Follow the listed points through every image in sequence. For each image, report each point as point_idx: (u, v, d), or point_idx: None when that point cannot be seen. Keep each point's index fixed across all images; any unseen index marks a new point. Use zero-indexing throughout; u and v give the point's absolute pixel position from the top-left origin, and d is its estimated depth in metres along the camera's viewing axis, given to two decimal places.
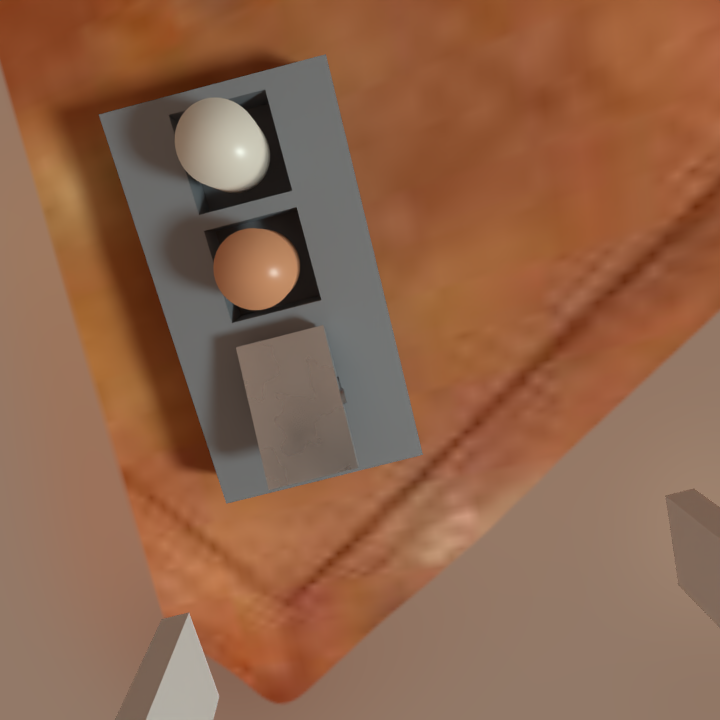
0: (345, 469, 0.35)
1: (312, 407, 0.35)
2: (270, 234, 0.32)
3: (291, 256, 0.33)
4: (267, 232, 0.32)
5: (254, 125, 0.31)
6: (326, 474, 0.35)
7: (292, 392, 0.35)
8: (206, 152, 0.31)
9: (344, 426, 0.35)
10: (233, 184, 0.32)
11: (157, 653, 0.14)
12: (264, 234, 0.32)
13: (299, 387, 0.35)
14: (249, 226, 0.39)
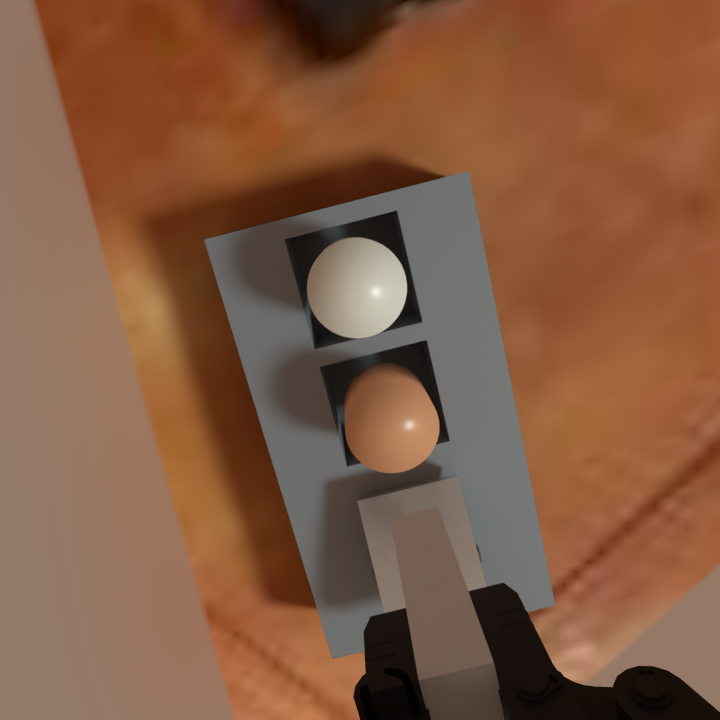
0: None
1: None
2: (413, 389, 0.28)
3: (436, 413, 0.28)
4: (409, 387, 0.28)
5: (401, 268, 0.26)
6: None
7: None
8: (343, 299, 0.26)
9: None
10: (372, 334, 0.27)
11: (405, 538, 0.16)
12: (405, 390, 0.28)
13: None
14: None
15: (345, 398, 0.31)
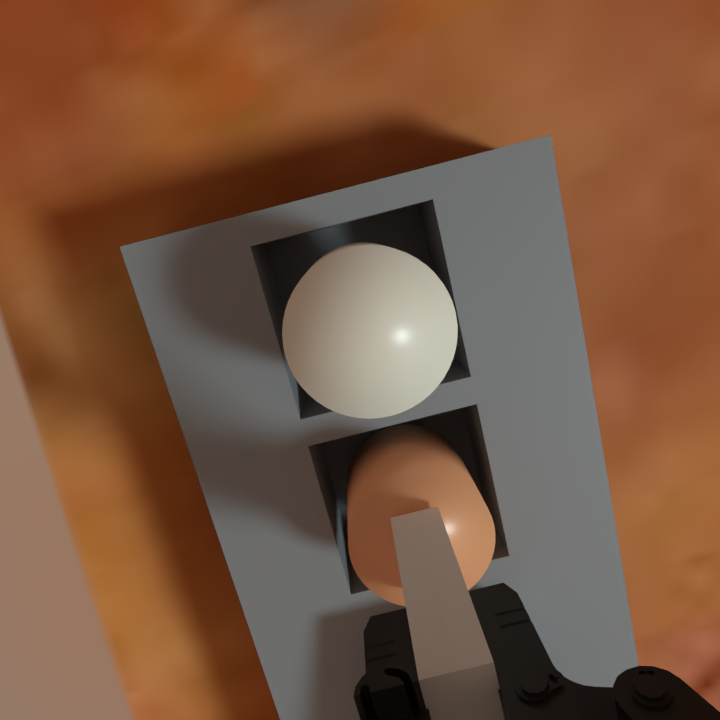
0: None
1: None
2: (455, 483, 0.17)
3: (490, 518, 0.18)
4: (450, 479, 0.17)
5: (447, 299, 0.15)
6: None
7: None
8: (346, 352, 0.15)
9: None
10: (396, 411, 0.16)
11: (405, 538, 0.16)
12: (443, 483, 0.17)
13: None
14: None
15: (348, 479, 0.21)
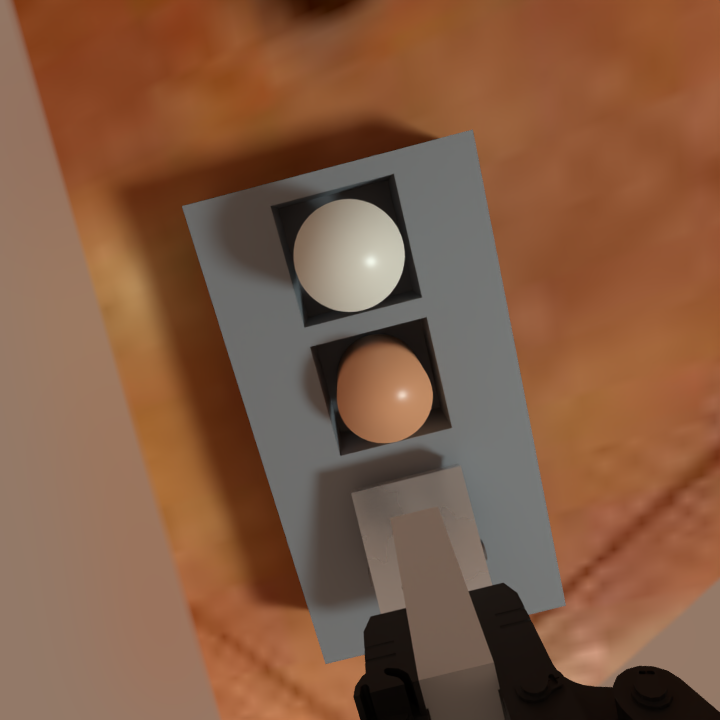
0: None
1: None
2: (406, 357, 0.27)
3: (429, 382, 0.27)
4: (402, 355, 0.27)
5: (397, 233, 0.24)
6: None
7: None
8: (334, 268, 0.24)
9: None
10: (366, 307, 0.24)
11: (405, 539, 0.16)
12: (398, 358, 0.27)
13: None
14: None
15: (338, 370, 0.31)
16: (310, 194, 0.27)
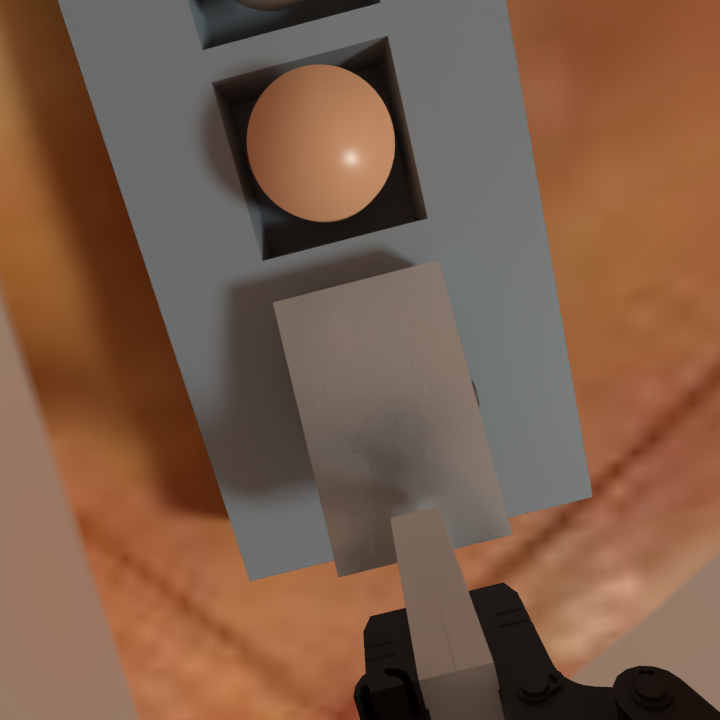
0: (487, 537, 0.18)
1: (420, 417, 0.18)
2: (352, 76, 0.17)
3: (389, 120, 0.18)
4: (346, 73, 0.17)
5: None
6: None
7: (382, 388, 0.18)
8: None
9: (484, 453, 0.18)
10: None
11: (405, 538, 0.16)
12: (340, 77, 0.17)
13: (394, 379, 0.18)
14: None
15: None
16: None
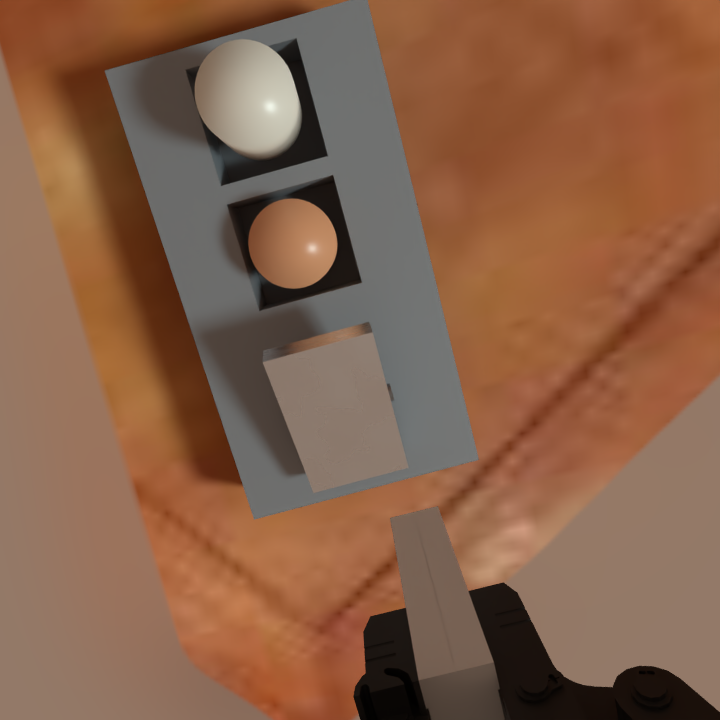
0: (395, 469, 0.33)
1: (359, 418, 0.31)
2: (310, 205, 0.30)
3: (333, 228, 0.30)
4: (306, 202, 0.30)
5: (288, 72, 0.26)
6: (375, 475, 0.33)
7: (336, 405, 0.30)
8: (232, 105, 0.26)
9: (395, 433, 0.31)
10: (263, 143, 0.27)
11: (405, 538, 0.16)
12: (303, 205, 0.30)
13: (343, 400, 0.30)
14: None
15: None
16: None
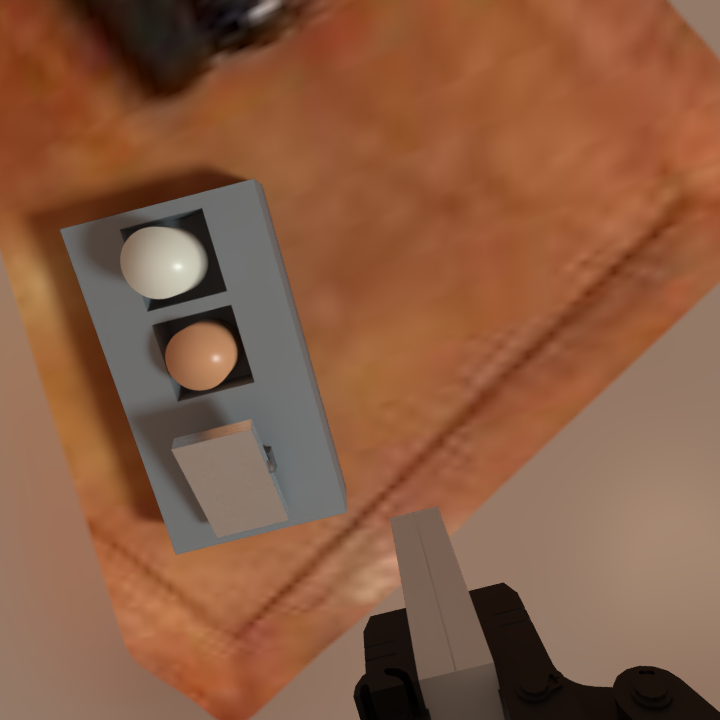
0: (278, 521, 0.44)
1: (247, 486, 0.41)
2: (210, 331, 0.40)
3: (227, 348, 0.41)
4: (208, 330, 0.40)
5: (187, 248, 0.37)
6: (263, 525, 0.44)
7: (228, 477, 0.41)
8: (147, 270, 0.37)
9: (276, 496, 0.42)
10: (170, 296, 0.38)
11: (405, 538, 0.16)
12: (205, 331, 0.40)
13: (234, 474, 0.41)
14: (195, 314, 0.45)
15: None
16: (146, 221, 0.40)
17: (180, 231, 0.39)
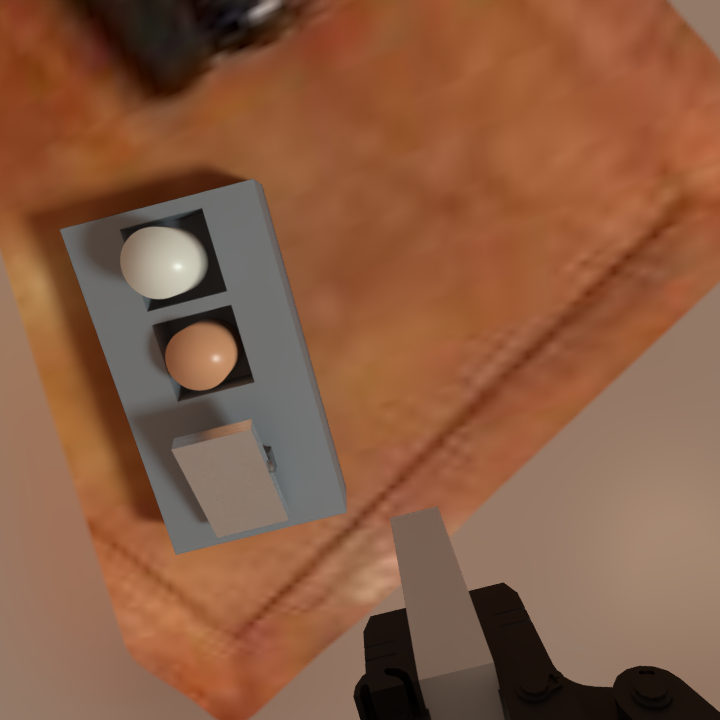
0: (278, 521, 0.44)
1: (247, 486, 0.41)
2: (210, 331, 0.40)
3: (227, 348, 0.41)
4: (208, 330, 0.40)
5: (187, 248, 0.37)
6: (263, 525, 0.44)
7: (228, 477, 0.41)
8: (147, 270, 0.37)
9: (276, 496, 0.42)
10: (170, 296, 0.38)
11: (405, 538, 0.16)
12: (205, 331, 0.40)
13: (234, 474, 0.41)
14: (195, 314, 0.45)
15: None
16: (146, 221, 0.40)
17: (180, 231, 0.39)
